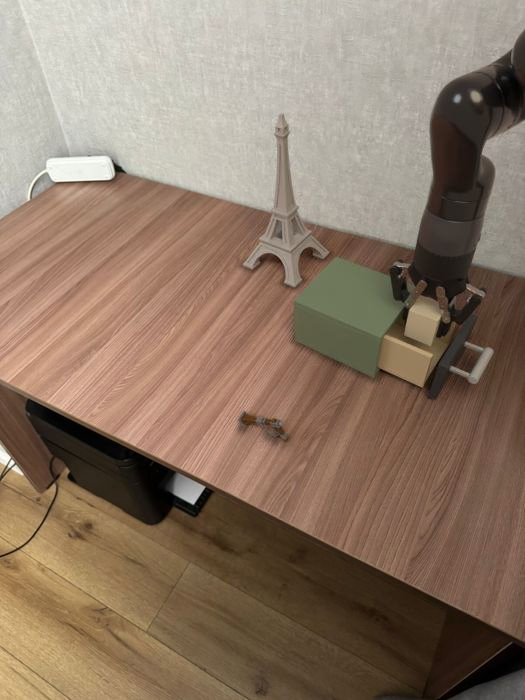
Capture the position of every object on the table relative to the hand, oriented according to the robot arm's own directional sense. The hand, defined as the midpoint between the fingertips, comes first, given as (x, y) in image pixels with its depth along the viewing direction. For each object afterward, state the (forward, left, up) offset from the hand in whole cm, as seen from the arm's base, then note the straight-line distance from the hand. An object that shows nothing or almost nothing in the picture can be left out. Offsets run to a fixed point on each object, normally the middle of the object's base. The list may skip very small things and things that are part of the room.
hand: (424, 327), depth 76 cm
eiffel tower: (+28, -23, -8) cm, 38 cm away
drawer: (-1, 0, -7) cm, 7 cm away
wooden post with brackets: (+21, +19, -8) cm, 30 cm away
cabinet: (+11, -4, -8) cm, 15 cm away
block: (0, 0, -1) cm, 1 cm away
